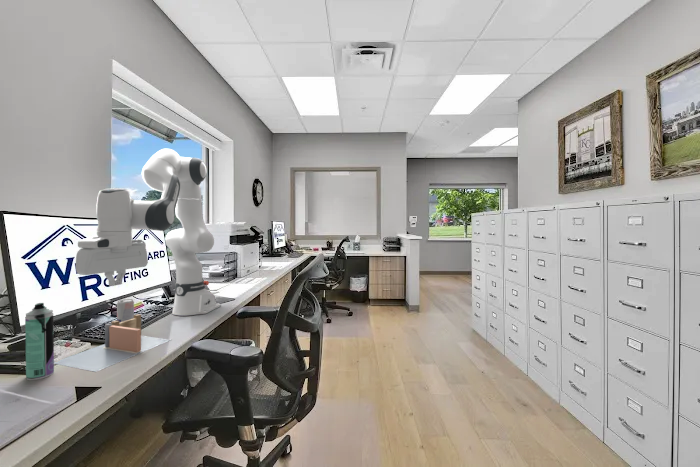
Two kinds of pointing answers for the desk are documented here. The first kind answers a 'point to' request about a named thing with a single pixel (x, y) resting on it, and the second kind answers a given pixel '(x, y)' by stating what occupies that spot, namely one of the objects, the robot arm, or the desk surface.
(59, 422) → the desk surface
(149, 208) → the robot arm
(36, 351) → the spray can
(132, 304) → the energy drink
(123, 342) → the hinged fence panel
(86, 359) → the card
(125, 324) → the fixed fence section
